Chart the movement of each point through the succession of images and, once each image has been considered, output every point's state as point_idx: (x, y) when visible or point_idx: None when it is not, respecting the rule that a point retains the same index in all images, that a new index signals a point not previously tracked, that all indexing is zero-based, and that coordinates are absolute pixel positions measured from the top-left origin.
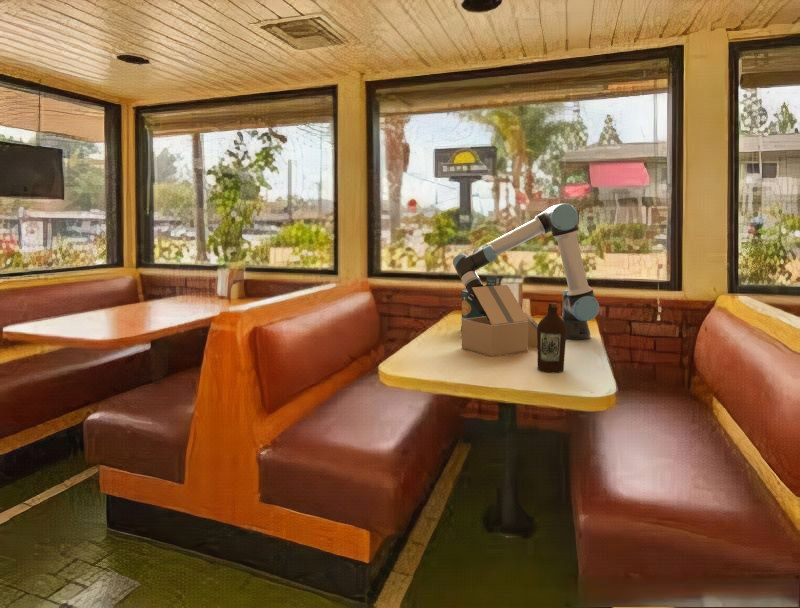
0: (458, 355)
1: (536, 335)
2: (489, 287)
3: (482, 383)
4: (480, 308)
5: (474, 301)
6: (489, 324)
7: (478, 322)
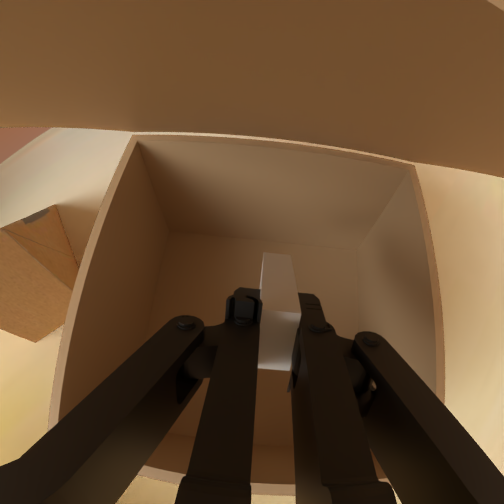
0: (444, 339)
1: (51, 235)
2: (478, 4)
3: None
4: (402, 370)
5: (472, 464)
6: (154, 451)
7: (434, 287)
